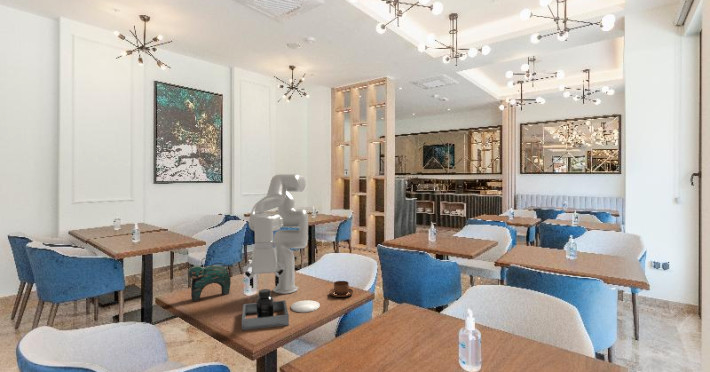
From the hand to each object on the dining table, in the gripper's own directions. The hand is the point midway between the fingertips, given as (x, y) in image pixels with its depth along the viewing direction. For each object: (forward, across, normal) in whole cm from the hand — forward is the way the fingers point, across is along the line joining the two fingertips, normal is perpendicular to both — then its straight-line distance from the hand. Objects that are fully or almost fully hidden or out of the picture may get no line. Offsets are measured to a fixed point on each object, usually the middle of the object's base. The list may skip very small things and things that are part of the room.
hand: (264, 286), depth 150 cm
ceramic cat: (+14, +26, -37) cm, 47 cm away
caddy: (+14, 0, -1) cm, 14 cm away
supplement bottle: (+14, 0, -1) cm, 14 cm away
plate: (+14, -18, -10) cm, 25 cm away
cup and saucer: (+14, -38, -22) cm, 46 cm away
